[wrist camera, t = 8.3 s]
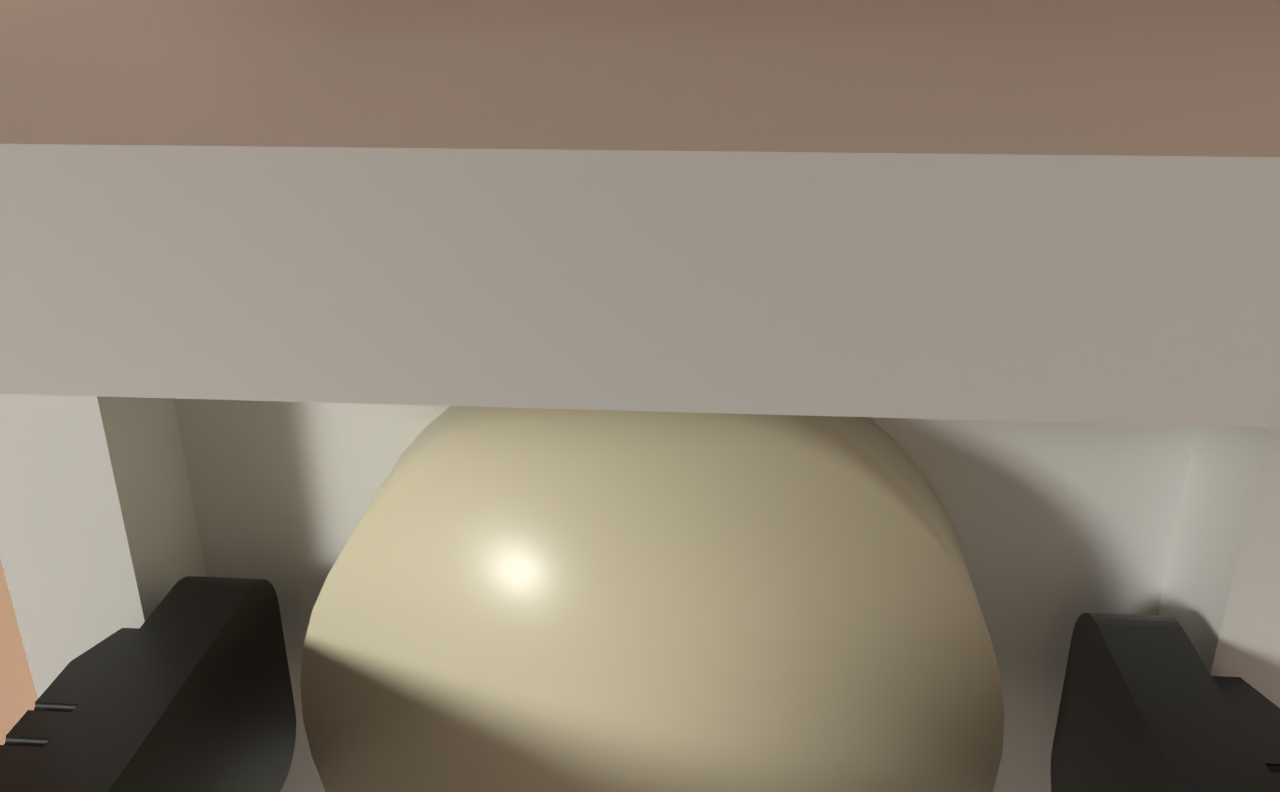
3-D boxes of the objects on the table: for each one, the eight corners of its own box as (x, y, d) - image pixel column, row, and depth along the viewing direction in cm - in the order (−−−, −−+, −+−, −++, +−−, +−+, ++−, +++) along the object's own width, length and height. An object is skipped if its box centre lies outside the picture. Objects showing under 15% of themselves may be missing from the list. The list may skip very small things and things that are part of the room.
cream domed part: (323, 333, 10) (254, 406, 9) (1005, 348, 10) (1051, 428, 8) (387, 841, 13) (341, 964, 11) (936, 871, 12) (964, 1004, 11)
